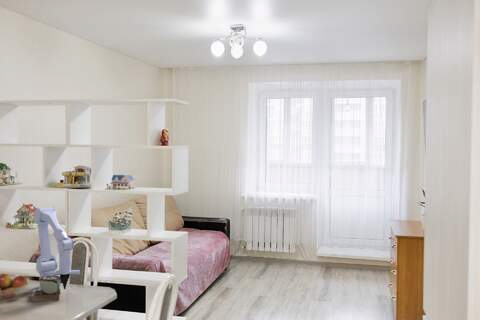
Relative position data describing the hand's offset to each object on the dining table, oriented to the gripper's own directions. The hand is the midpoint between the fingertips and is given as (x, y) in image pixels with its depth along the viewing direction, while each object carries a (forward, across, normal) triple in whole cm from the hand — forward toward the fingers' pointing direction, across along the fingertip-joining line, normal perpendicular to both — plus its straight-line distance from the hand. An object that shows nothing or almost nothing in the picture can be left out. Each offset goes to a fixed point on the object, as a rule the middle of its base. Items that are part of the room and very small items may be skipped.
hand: (64, 288), depth 244 cm
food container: (+4, -6, +2) cm, 7 cm away
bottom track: (+4, -9, 0) cm, 10 cm away
